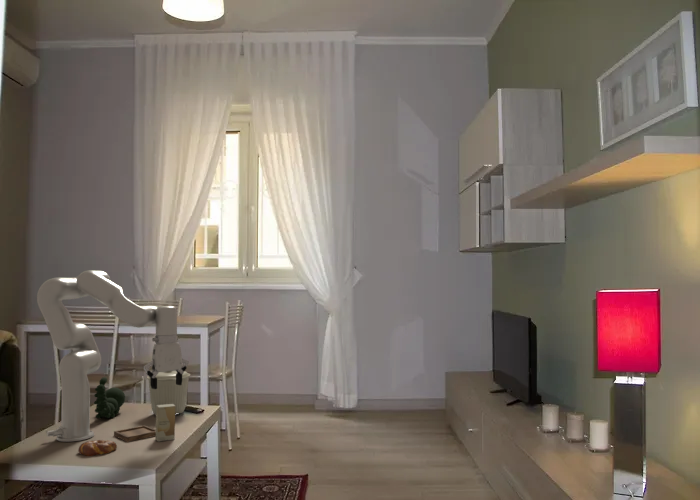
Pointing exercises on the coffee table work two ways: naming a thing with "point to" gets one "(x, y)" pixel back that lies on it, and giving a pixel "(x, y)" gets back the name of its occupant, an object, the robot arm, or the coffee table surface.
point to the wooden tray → (135, 433)
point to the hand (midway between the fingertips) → (166, 386)
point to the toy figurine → (108, 400)
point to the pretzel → (96, 447)
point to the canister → (169, 391)
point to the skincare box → (165, 422)
